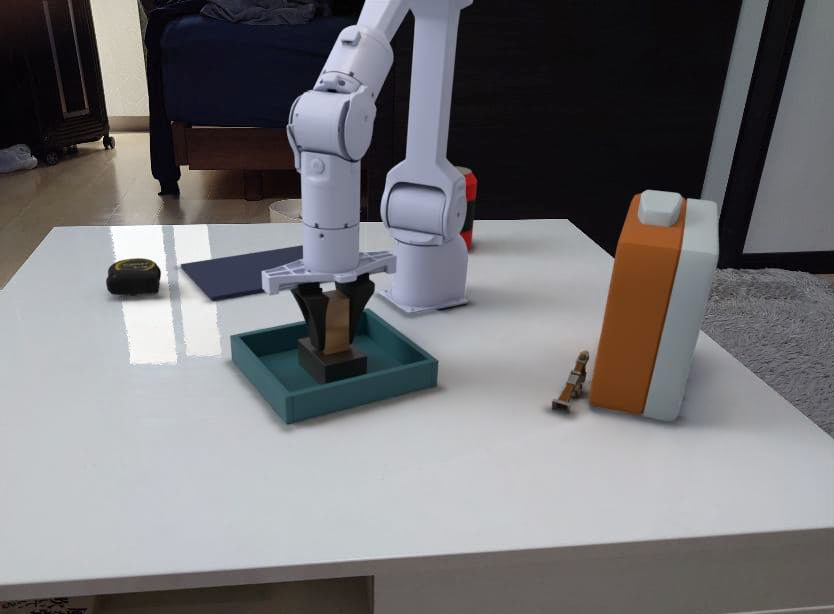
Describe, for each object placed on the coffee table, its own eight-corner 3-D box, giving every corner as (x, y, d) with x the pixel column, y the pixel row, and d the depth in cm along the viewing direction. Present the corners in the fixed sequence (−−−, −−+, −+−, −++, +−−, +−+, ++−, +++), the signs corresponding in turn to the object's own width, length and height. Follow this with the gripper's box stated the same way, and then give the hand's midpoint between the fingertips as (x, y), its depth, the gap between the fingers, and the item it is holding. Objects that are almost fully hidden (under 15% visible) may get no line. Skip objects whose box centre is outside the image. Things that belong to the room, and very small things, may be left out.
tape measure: (107, 302, 102) (103, 275, 100) (115, 282, 108) (110, 257, 106) (160, 300, 103) (156, 273, 101) (164, 281, 109) (161, 255, 107)
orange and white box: (605, 340, 95) (638, 170, 84) (681, 352, 92) (724, 178, 82) (585, 411, 80) (622, 215, 70) (675, 428, 77) (727, 227, 67)
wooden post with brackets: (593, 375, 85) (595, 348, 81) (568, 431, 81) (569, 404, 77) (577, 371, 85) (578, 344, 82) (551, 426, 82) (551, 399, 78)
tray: (367, 333, 95) (368, 307, 93) (436, 389, 83) (438, 360, 82) (231, 363, 88) (229, 335, 86) (286, 428, 76) (285, 397, 74)
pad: (304, 248, 122) (304, 244, 122) (345, 277, 111) (345, 273, 111) (181, 267, 114) (180, 263, 113) (211, 301, 103) (211, 297, 103)
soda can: (417, 240, 126) (421, 165, 120) (461, 237, 128) (467, 163, 122) (432, 255, 120) (437, 177, 114) (478, 252, 122) (485, 175, 116)
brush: (337, 354, 89) (337, 280, 84) (366, 380, 84) (368, 303, 79) (298, 363, 87) (296, 288, 82) (325, 390, 82) (324, 312, 77)
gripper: (279, 242, 71) (284, 373, 78) (414, 222, 77) (408, 345, 84) (251, 221, 76) (258, 345, 83) (379, 204, 82) (376, 321, 89)
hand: (331, 344), depth 84 cm, fingers closed on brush, 3 cm apart
